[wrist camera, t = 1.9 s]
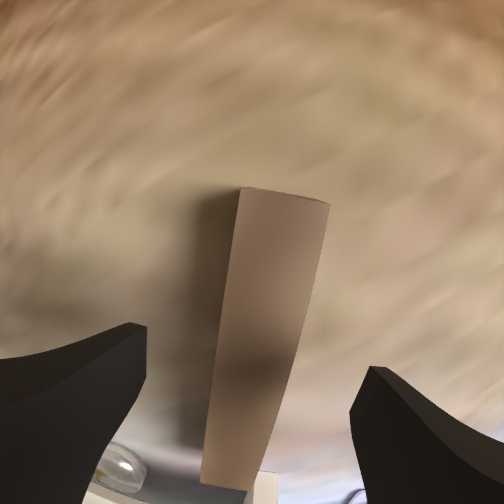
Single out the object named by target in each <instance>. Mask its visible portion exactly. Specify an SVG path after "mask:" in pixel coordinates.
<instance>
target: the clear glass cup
mask: <svg viewBox="0 0 504 504" xmlns="http://www.w3.org/2000/svg"><path fill="white" fill-rule="evenodd" d="M147 473H148V469H147V466H146V464H145V463H144V461H143V460H142V459H141V458H140V457H139V456H138V455H136V454H135V453H134V452H132V451H131V450H130V449H128V448H126V447H124V446H122V445H120V444H118V443H116V442H113V441H110V443H109V444H108V446H107V447H106V449H105V451H104V453H103V455H102V457H101V459H100V461H99V463H98V465H97V468H96V470H95V472H94V474H93V476H94V477H95V478H96V479H97V480H99V481H100V482H102V483H103V484H105V485H107V486H109V487H111V488H113V489H116V490H118V491H122V492H127V493H136V492H138V491H140V489H141V487H142V485H143V482H144V480H145V478H146V475H147Z"/></svg>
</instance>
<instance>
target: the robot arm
mask: <svg viewBox="0 0 504 504" xmlns="http://www.w3.org/2000/svg"><path fill="white" fill-rule="evenodd" d="M146 347H147V327H146V326H142V325H138V324H135V323H131V322H129V323H125V324H122V325H120V326H117V327H114V328H112V329H109V330H107V331H104V332H102V333H99V334H97V335H94V336H92V337H89V338H86V339H84V340H81V341H78V342H75V343H72V344H69V345H66V346H63V347H60V348H57V349H54V350H50V351H46V352H42V353H38V354H33V355H28V356H23V357H16V358H7V359H0V504H82V502H83V499H84V497H85V494H86V492H87V489H88V487H89V484H90V481H91V479H92V477H93V474H94V472H95V470H96V468H97V465H98V463H99V461H100V459H101V457H102V455H103V453H104V451H105V449H106V447H107V446H108V444H109V443H110V441H111V439H112V438H113V436H114V435H115V433H116V431H117V430H118V428H119V427H120V425H121V424H122V422H123V420H124V419H125V417H126V416H127V414H128V413H129V411H130V409H131V408H132V406H133V404H134V403H135V401H136V399H137V397H138V395H139V393H140V391H141V388H142V386H143V384H144V381H145V379H146ZM349 414H350V426H351V434H352V439H353V444H354V447H355V451H356V455H357V459H358V463H359V467H360V471H361V475H362V479H363V483H364V487H365V490H362V491H359V492H358V493H356V495H355V496H354V497H353V498H352V499H351V501H350V502H349V503H348V504H504V443H502V442H500V441H497V440H495V439H493V438H490V437H488V436H486V435H484V434H482V433H480V432H478V431H476V430H474V429H472V428H470V427H469V426H467V425H465V424H463V423H462V422H460V421H458V420H457V419H455V418H454V417H452V416H451V415H449V414H448V413H446V412H445V411H444V410H442V409H441V408H439V407H438V406H437V405H435V404H434V403H432V402H431V401H430V400H429V399H427V398H426V397H425V396H423V395H422V394H421V393H420V392H418V391H417V390H416V389H415V388H413V387H412V386H411V385H410V384H408V383H407V382H406V381H405V380H403V379H402V378H401V377H399V376H398V375H397V374H395V373H394V372H393V371H391V370H390V369H388V368H386V367H377V366H369V369H368V371H367V374H366V376H365V378H364V381H363V383H362V385H361V388H360V390H359V392H358V394H357V396H356V399H355V401H354V403H353V405H352V407H351V409H350V411H349Z"/></svg>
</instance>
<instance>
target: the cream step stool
mask: <svg viewBox="0 0 504 504" xmlns="http://www.w3.org/2000/svg"><path fill="white" fill-rule="evenodd" d="M82 504H148V503H145V502H142V501H139V500H136V499H133V498H130V497H128V496H125V495H122V494H119V493H117V492H114V491H112V490H109V489H107V488H104V487H102V486H100V485H97V484H95V483H93V482H90V484H89V487H88V489H87V492H86V494H85V497H84V499H83V502H82ZM243 504H278V473H273V472H264V471H258V474H257V477H256V479H255V482H254V485H253V487H252V490H251V492H250V491H248V492H247V495H246V497H245V500H244V502H243Z"/></svg>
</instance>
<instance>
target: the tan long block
mask: <svg viewBox="0 0 504 504" xmlns="http://www.w3.org/2000/svg"><path fill="white" fill-rule="evenodd" d="M329 209H330V204H328V203H325V202H322V201H320V200H317V199H312V198H307V197H302V196H296V195H291V194H286V193H280V192H275V191H269V190H264V189H258V188H252V187H244V188H241V191H240V197H239V203H238V210H237V216H236V222H235V228H234V234H233V241H232V247H231V253H230V260H229V266H228V273H227V279H226V286H225V293H224V299H223V306H222V313H221V320H220V327H219V334H218V341H217V348H216V355H215V363H214V370H213V377H212V385H211V393H210V400H209V408H208V416H207V424H206V432H205V440H204V448H203V457H202V465H201V474H200V483H203V484H208V485H213V486H218V487H224V488H229V489H236V490H242V491H250V492H251V490H252V487H253V485H254V482H255V479H256V477H257V474H258V471H259V468H260V465H261V463H262V460H263V457H264V454H265V451H266V448H267V445H268V442H269V439H270V436H271V433H272V430H273V427H274V424H275V421H276V418H277V415H278V412H279V408H280V405H281V402H282V399H283V395H284V392H285V389H286V385H287V382H288V379H289V375H290V372H291V368H292V365H293V361H294V358H295V354H296V350H297V347H298V343H299V339H300V336H301V332H302V328H303V324H304V320H305V316H306V313H307V309H308V305H309V300H310V296H311V292H312V288H313V284H314V280H315V275H316V271H317V266H318V262H319V258H320V253H321V248H322V244H323V239H324V234H325V229H326V224H327V219H328V214H329Z"/></svg>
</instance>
